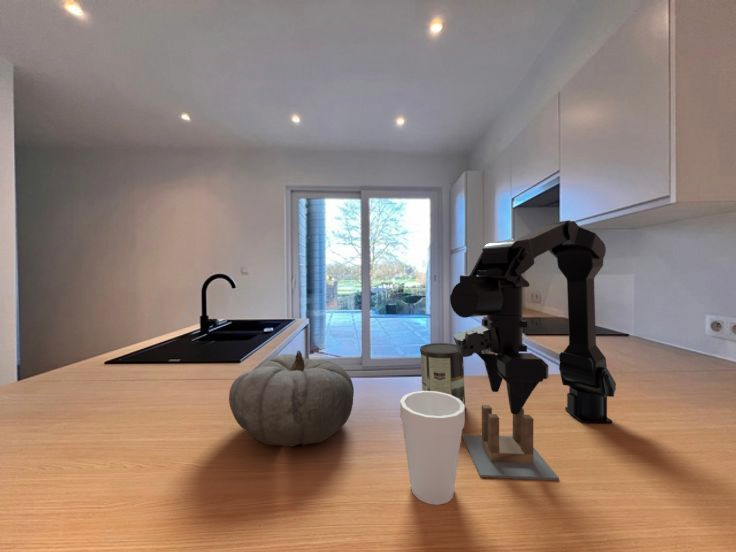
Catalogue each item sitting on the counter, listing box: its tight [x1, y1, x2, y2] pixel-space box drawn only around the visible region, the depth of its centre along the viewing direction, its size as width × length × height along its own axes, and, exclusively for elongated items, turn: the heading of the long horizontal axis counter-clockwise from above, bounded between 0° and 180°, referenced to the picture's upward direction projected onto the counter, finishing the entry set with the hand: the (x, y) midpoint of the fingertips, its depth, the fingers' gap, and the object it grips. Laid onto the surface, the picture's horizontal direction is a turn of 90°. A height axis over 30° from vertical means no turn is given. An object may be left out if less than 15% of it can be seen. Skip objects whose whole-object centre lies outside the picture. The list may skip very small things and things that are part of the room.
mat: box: [461, 434, 560, 481], centre depth 54 cm, size 12×12×1 cm
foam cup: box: [399, 390, 466, 506], centre depth 46 cm, size 10×9×13 cm
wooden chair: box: [481, 404, 534, 463], centre depth 54 cm, size 7×5×8 cm
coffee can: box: [419, 342, 466, 409], centre depth 74 cm, size 10×10×14 cm
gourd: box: [228, 350, 355, 447], centre depth 64 cm, size 25×25×17 cm
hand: (503, 401), depth 54 cm, fingers open, 9 cm apart
